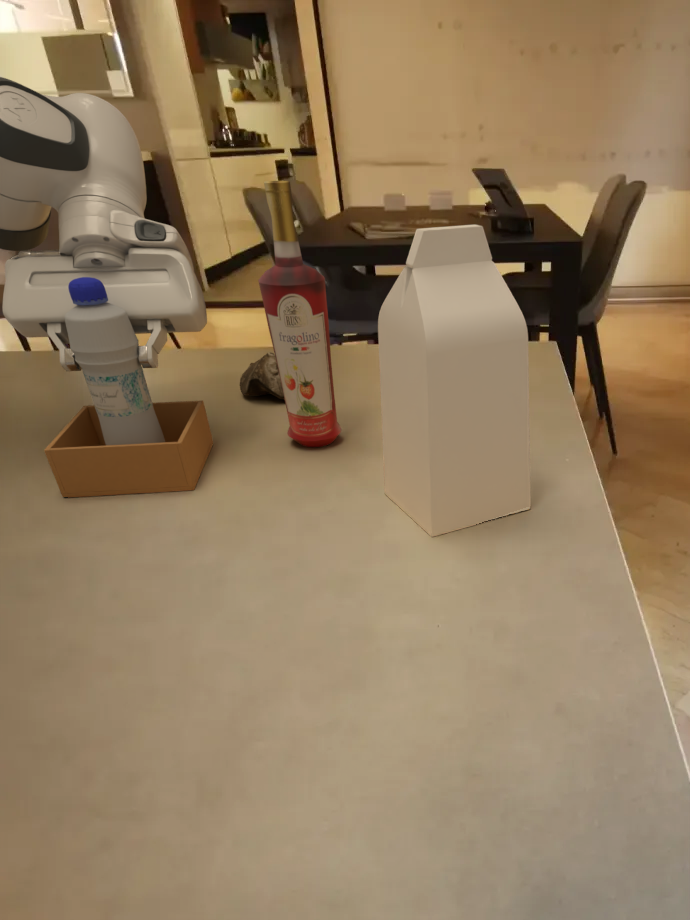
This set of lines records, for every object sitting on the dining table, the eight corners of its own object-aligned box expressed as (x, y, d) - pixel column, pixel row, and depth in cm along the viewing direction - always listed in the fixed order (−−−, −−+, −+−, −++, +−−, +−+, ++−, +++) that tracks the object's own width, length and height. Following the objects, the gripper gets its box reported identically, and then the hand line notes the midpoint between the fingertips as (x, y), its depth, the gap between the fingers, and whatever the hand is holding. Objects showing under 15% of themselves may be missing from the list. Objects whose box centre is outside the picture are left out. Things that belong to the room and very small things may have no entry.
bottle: (99, 471, 81) (31, 281, 69) (137, 450, 86) (81, 269, 74) (147, 479, 80) (87, 286, 67) (184, 457, 85) (133, 273, 72)
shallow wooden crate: (62, 498, 77) (43, 450, 74) (99, 449, 88) (83, 405, 85) (194, 490, 79) (181, 443, 75) (213, 443, 90) (203, 400, 86)
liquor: (286, 453, 87) (238, 185, 70) (287, 432, 93) (243, 179, 75) (345, 449, 88) (312, 184, 71) (343, 428, 94) (312, 178, 77)
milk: (431, 537, 70) (417, 241, 54) (384, 493, 78) (360, 224, 62) (530, 509, 75) (544, 231, 59) (477, 471, 83) (476, 216, 67)
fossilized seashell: (319, 375, 104) (274, 376, 109) (291, 340, 98) (245, 342, 104) (295, 415, 102) (250, 413, 107) (266, 381, 96) (220, 381, 102)
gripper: (-13, 231, 73) (-10, 355, 71) (191, 227, 75) (197, 347, 74) (21, 271, 79) (24, 385, 77) (207, 266, 81) (214, 377, 80)
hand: (110, 367), depth 76 cm, fingers closed on bottle, 6 cm apart
